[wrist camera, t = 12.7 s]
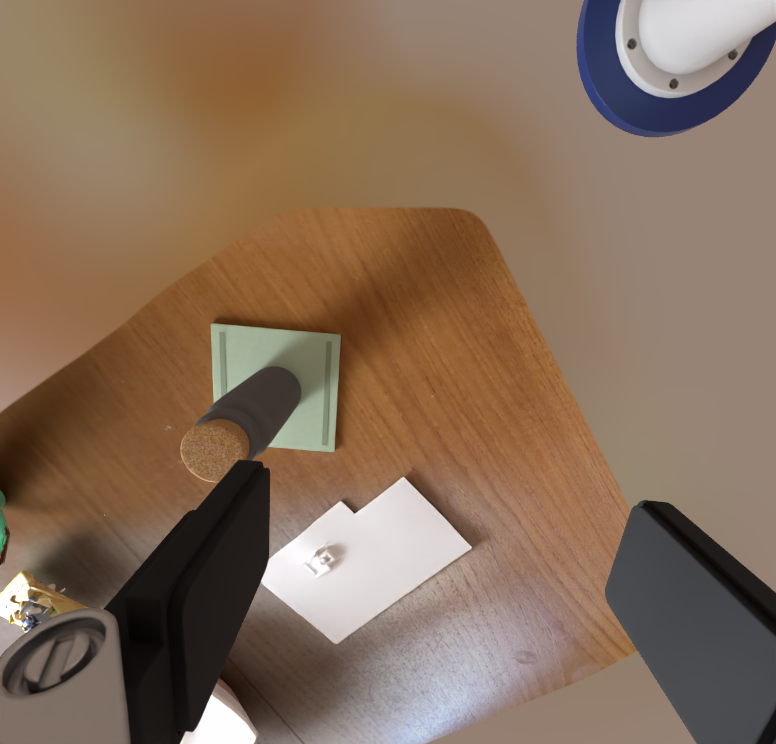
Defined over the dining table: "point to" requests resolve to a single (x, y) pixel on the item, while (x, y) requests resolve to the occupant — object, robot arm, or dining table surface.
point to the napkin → (299, 356)
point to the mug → (3, 531)
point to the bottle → (241, 423)
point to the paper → (362, 560)
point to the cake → (33, 602)
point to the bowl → (222, 721)
